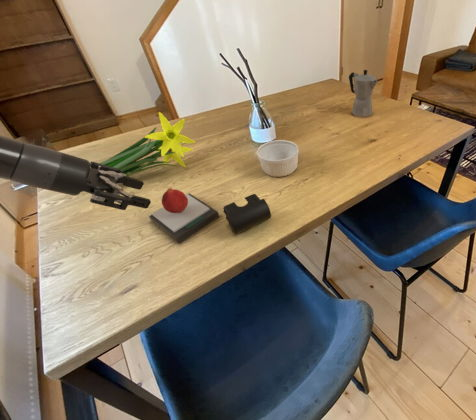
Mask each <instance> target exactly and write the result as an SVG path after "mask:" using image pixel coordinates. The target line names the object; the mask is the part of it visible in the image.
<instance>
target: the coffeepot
mask: <svg viewBox="0 0 476 420" xmlns="http://www.w3.org/2000/svg"><path fill="white" fill-rule="evenodd" d="M348 81H349V86H350V91H351V93H353V94H355V98H354V100H353V103H352V109H351V114H352V115H353V116H355V117H357V118H367V117H370V116H372V114H373V102H372V100H373V99H372V95H373V93H374V89H375V86H376V85H377V84H378V83H379V81H378V80H377V76H375V75H373V74H368V70H367V69H363V73H362V74H359V73H356V72H352V71H351V73H350V74H349V75H348Z"/></svg>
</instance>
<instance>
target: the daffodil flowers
mask: <svg viewBox="0 0 476 420" xmlns="http://www.w3.org/2000/svg"><path fill="white" fill-rule="evenodd" d="M158 118H159V122H160V125H161V128H162V131H157V132H155V131H156V129H157V126H155V127H154V128H153V129H152V130H151V131H150V132H149V133H147V135H145V136H144V137H142V138H141V139H140V140H138V141H137V142H135V143H133V144H131V145H130V146H128V147H127V148H125V149H123V150H122V151H119V152H118V153H116V154H115V155H113V156H110V157H109V158H108V159H106V160H104V161H101V162H99V163H100V164H103V165H107V166H110V167H114V168H117V169H120V170H122V172H121V173H123V174H125V175H126V177H127V176H128V177H130V176H131V175H132V176H133V175H134V174H137V173H141V172H143V171H146V170H149V169H153V168H158V167H161V166H162V167H164V166H171V167H172V166H173V167H176V165H174V164H170V163H169V161H170V160H171V159H172V160H174V161H175V162H176V163H177V164H178V165H180V166H181V167H183V168H185V169H186V168H187V166H186V164H185V162H184V161H183V159H182V158H185V153H189V152H192V151H194V148H192V147H188V146H182V143H183V144H195V143H196V141H195V140H193V139H192V138H189V136H186V135H184V134H182V133H181V131H182V130H183V128H184V127H185V126H184V125H185V121H186V118H182V119H180V120H179V121H177V122H175V123H174V124H173V125H171V123H170V121H169V120H168V118H167V117H166V116H165V115H164V114H163V113H162V112H161V111H158ZM162 157H163V161H160V160H158V159H159V158H162Z"/></svg>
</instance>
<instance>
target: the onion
mask: <svg viewBox="0 0 476 420" xmlns="http://www.w3.org/2000/svg"><path fill="white" fill-rule="evenodd" d="M161 205H162V208H163V207H164V209H165V210H166V211H168V212H171V213H181V212H183V210H185V208H186V207H187V205H188V199H187V197H186V194H185V193H184V192H183V191H181V190H178V189H175V188H172V187H168V188H167V189H166V191H165V192H164V193H163V194H162V196H161Z"/></svg>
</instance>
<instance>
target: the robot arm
mask: <svg viewBox="0 0 476 420" xmlns="http://www.w3.org/2000/svg"><path fill="white" fill-rule="evenodd" d="M100 163H101V162H96V161H89V160H88V159H84V158H81V157H78V156H75V155H72V154H69V153H65V152H62V151H58V150H56V149H52V148H49V147H45V146H42V145H36V144H33V143H32V144H31V143H27V142H23V141H21V140H17V139H14V138H10V137H7V136H3V135H1V134H0V179H1V180H2V179H3V180H7V181H11V182H14V183H18V184H21V185H24V186H28V187H32V188H36V189H41V190H47V191H51V192H55V193H58V194H59V193H61V194H64V195H69V196H74V197H75V196H79V194H81V193H83V192H85V193H87V194H90V195H91V197H90V199H89V202H90V203H92V204H95V205H99V206H103V207H108V208H113V209H117V210H120V211H121V210H122V211H126V209H127V208H128V206H131V207H132V206H133V207H137V208H140V209H145V210H147V209H148V208H149V207H150V205H151V203H152V201H151V199H150V198H146V197H143V196H139V195H135V194H131V193H128V192H127V191H125V190H124V188H123V187H128V188H131V189H134V190H142V188H143V187H144V185H145V183H144V180H141V179H138V178H134V177H132V176H131V177H130V176H127V177H126V174H123V173H121V172H122V170H120V169H117V168H114V167H110V166H107V165H103V164H100ZM121 185H122V186H123V187H122V186H121ZM0 420H12V417H11V415H10V414H9V412H8V410H7V409H6V407H5V405H4V403H3V401H2V400H1V399H0Z"/></svg>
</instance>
